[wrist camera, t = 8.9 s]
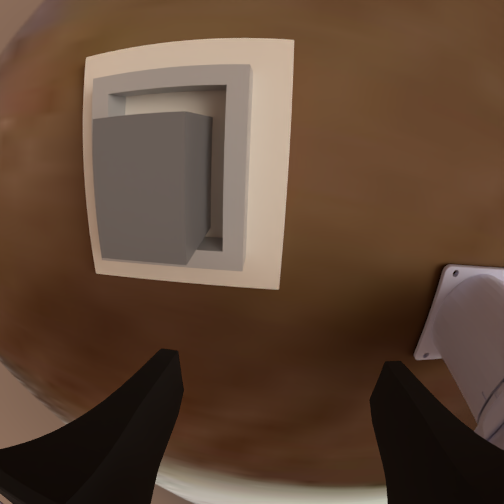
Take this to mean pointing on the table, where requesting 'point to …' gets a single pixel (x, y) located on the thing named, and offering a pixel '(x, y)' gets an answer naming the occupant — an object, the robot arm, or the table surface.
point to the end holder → (223, 146)
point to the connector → (152, 185)
